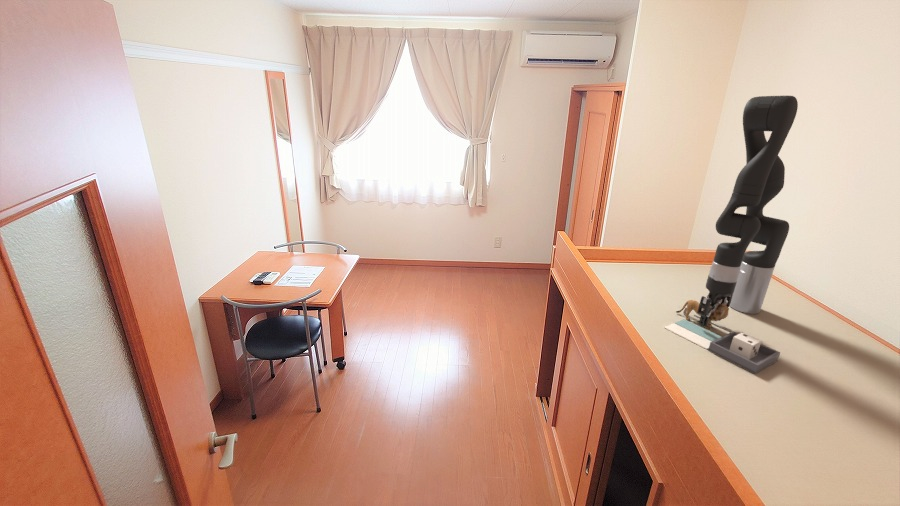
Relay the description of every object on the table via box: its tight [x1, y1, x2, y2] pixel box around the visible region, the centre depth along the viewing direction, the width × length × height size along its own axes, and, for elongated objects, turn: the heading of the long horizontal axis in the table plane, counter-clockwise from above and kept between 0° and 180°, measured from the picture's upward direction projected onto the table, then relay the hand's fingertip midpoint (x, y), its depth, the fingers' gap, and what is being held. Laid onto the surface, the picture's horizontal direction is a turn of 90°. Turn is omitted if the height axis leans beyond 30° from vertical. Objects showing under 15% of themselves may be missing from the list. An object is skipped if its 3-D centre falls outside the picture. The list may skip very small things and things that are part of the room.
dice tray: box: [707, 331, 781, 375], centre depth 115 cm, size 12×12×3 cm
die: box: [730, 331, 763, 360], centre depth 114 cm, size 5×5×5 cm
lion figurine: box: [675, 299, 730, 330], centre depth 131 cm, size 15×5×9 cm, turn 39°
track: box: [663, 314, 733, 350], centre depth 127 cm, size 17×14×1 cm
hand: (709, 322), depth 129 cm, fingers open, 8 cm apart
